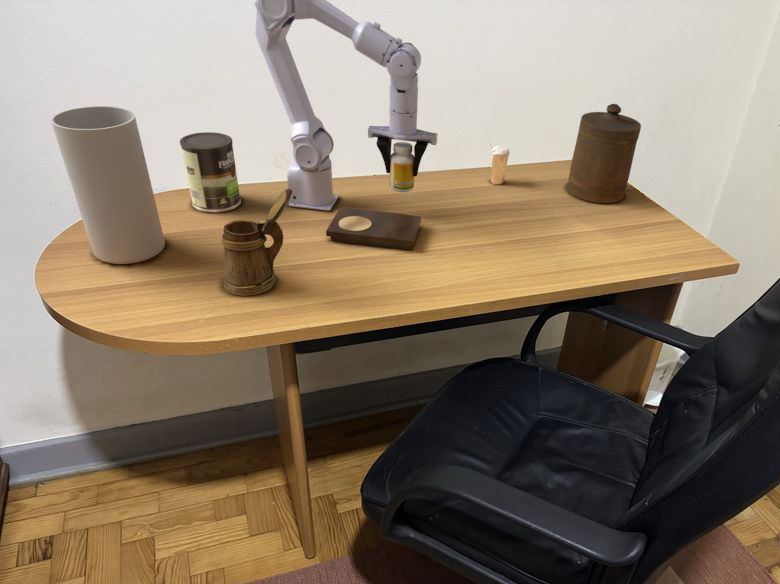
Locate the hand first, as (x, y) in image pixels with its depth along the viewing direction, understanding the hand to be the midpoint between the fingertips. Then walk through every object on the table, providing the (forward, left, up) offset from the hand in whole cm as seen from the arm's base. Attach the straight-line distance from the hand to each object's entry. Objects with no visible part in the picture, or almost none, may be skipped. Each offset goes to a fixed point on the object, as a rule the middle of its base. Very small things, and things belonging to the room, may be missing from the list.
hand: (401, 173), depth 137 cm
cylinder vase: (-48, -29, -10) cm, 57 cm away
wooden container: (+46, +26, -10) cm, 54 cm away
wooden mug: (-20, -35, -10) cm, 42 cm away
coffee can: (-41, -5, -10) cm, 42 cm away
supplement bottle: (0, 0, -4) cm, 4 cm away
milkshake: (+20, +25, -10) cm, 33 cm away
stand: (-4, -11, -10) cm, 15 cm away
